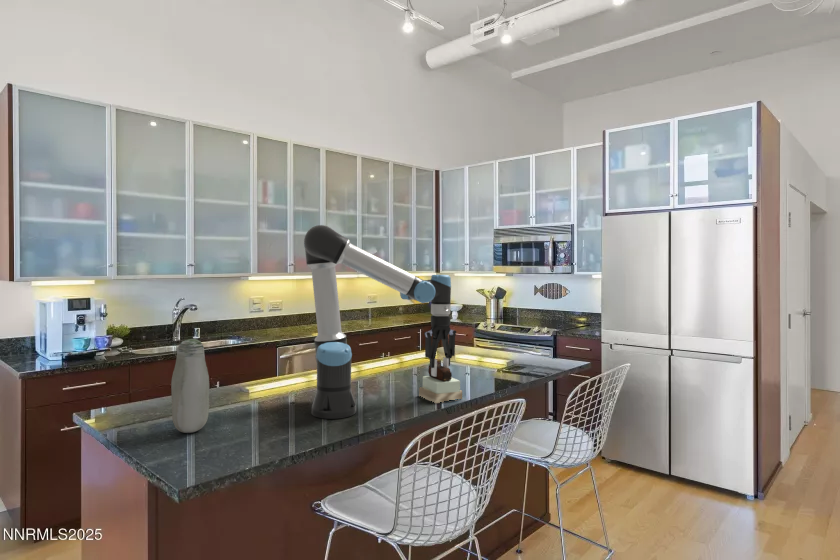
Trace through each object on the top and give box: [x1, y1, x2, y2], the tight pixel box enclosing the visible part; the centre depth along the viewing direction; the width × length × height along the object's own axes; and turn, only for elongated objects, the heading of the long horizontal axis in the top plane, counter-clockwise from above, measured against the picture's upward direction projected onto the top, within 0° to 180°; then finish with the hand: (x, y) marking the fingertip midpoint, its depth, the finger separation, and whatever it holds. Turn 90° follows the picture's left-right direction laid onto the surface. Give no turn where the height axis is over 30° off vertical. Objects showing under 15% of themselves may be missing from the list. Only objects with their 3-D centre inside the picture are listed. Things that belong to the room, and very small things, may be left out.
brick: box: [427, 363, 453, 381], centre depth 200 cm, size 11×4×5 cm, turn 32°
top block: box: [422, 375, 461, 394], centre depth 200 cm, size 10×12×4 cm
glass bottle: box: [170, 338, 210, 434], centre depth 157 cm, size 10×10×28 cm
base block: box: [418, 386, 463, 404], centre depth 200 cm, size 12×12×4 cm
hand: (439, 375), depth 200 cm, fingers open, 5 cm apart
